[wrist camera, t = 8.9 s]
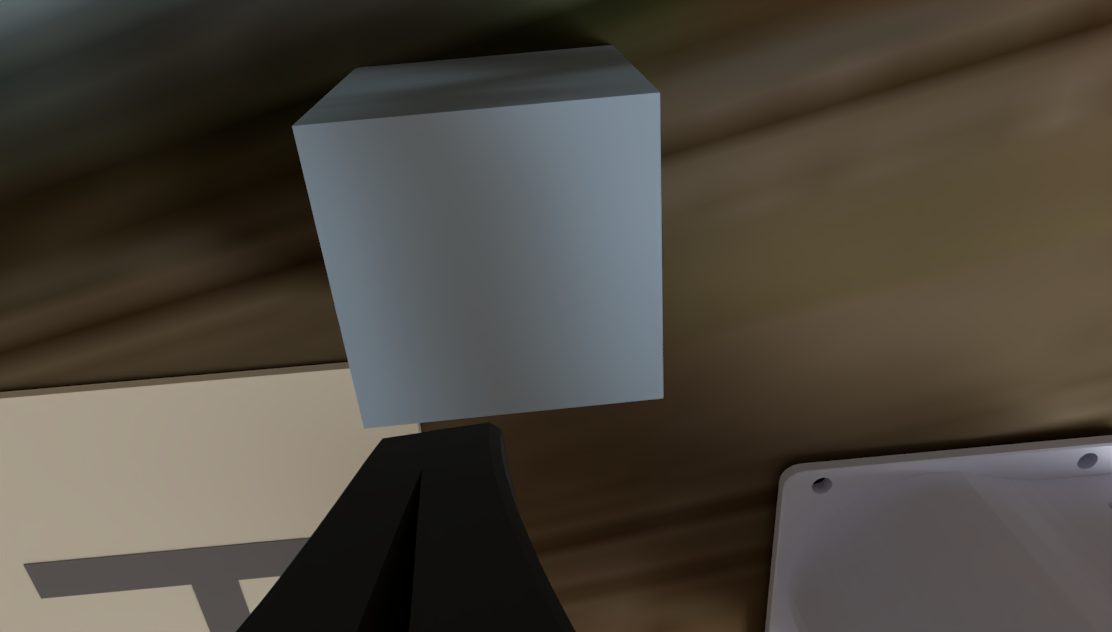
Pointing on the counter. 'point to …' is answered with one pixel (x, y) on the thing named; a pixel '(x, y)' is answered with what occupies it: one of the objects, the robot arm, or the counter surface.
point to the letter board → (169, 494)
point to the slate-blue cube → (491, 232)
